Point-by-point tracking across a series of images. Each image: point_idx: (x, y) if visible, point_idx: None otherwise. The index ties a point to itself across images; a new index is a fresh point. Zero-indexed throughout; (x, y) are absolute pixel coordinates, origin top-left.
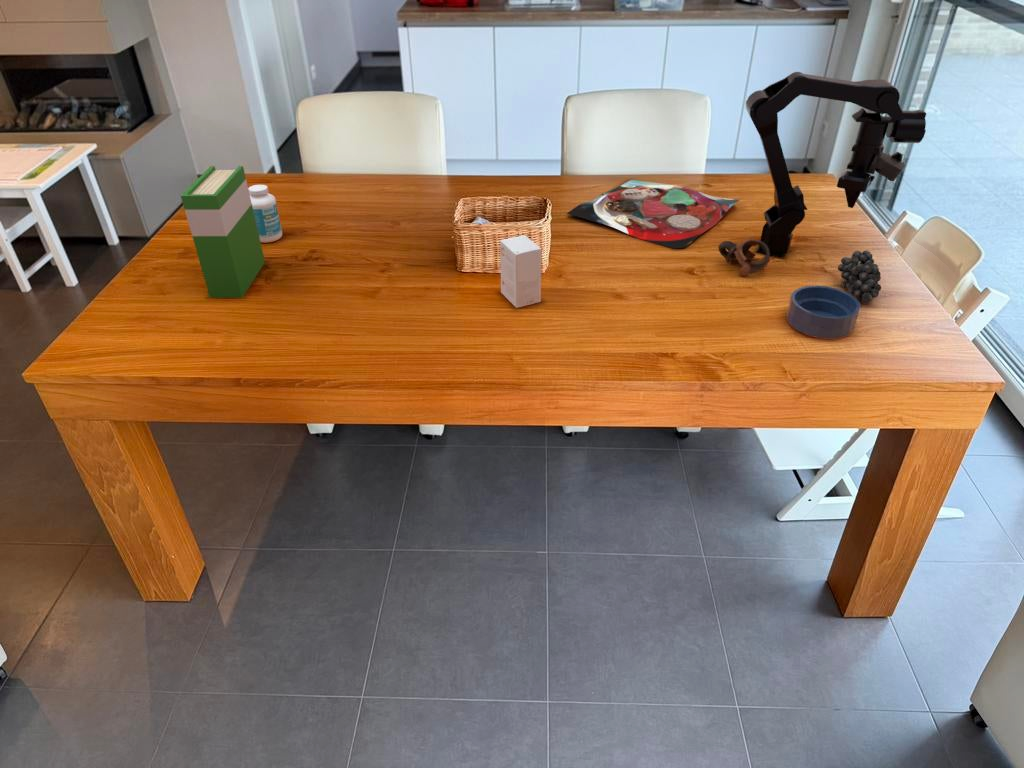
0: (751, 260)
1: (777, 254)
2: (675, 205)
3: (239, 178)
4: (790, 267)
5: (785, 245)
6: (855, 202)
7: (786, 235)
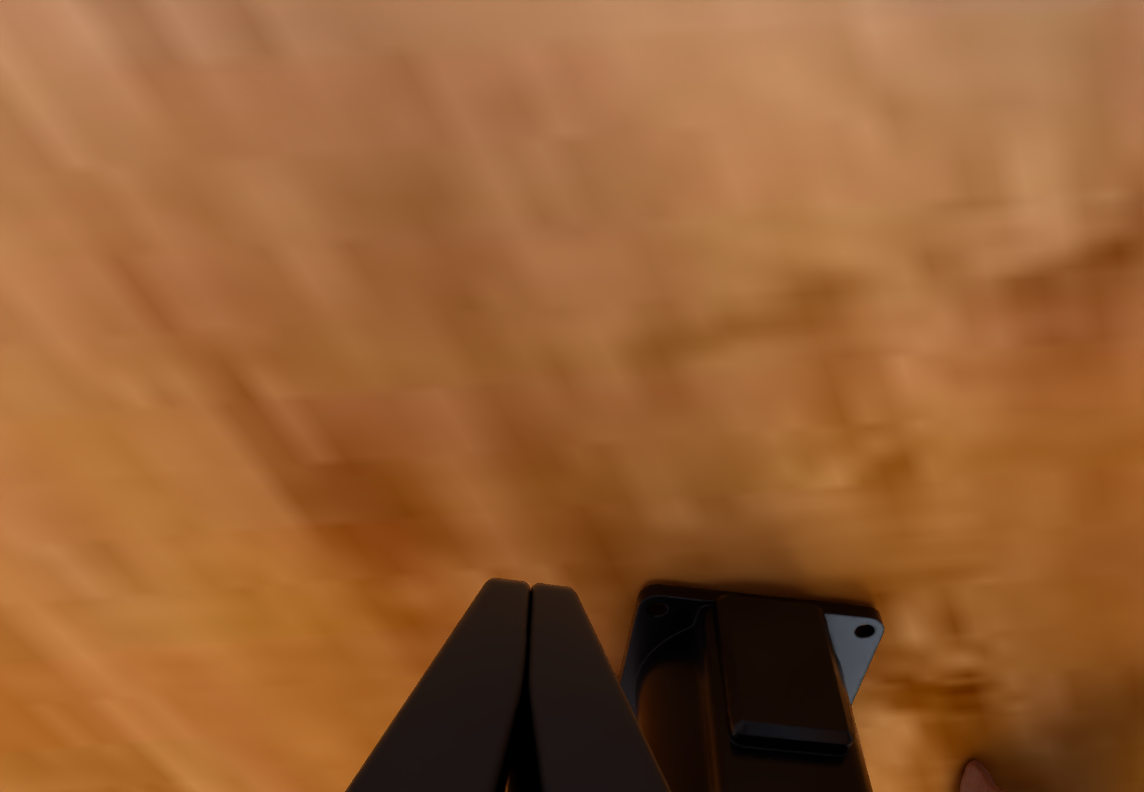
0: (977, 761)
1: (859, 653)
2: None
3: None
4: (1061, 534)
5: (842, 685)
6: (621, 701)
7: (867, 789)
